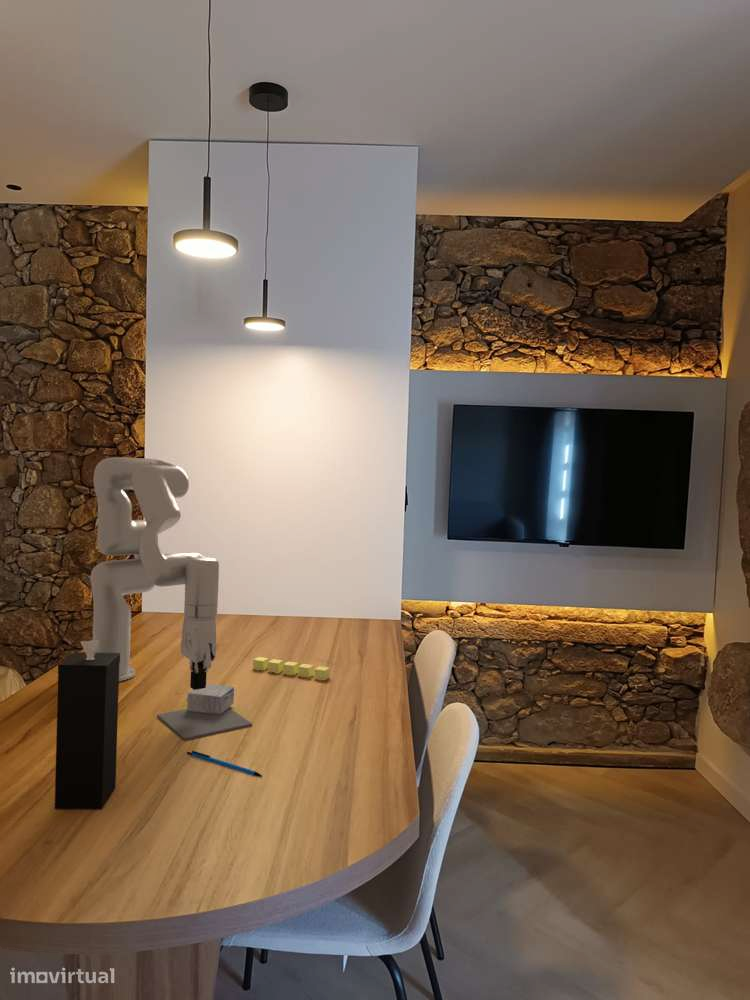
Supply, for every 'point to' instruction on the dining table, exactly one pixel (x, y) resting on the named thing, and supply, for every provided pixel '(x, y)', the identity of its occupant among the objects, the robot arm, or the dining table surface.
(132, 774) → the dining table surface
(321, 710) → the dining table surface
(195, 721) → the mat
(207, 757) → the pen
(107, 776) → the tissue box
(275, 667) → the yellow cube line
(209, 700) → the medicine box
